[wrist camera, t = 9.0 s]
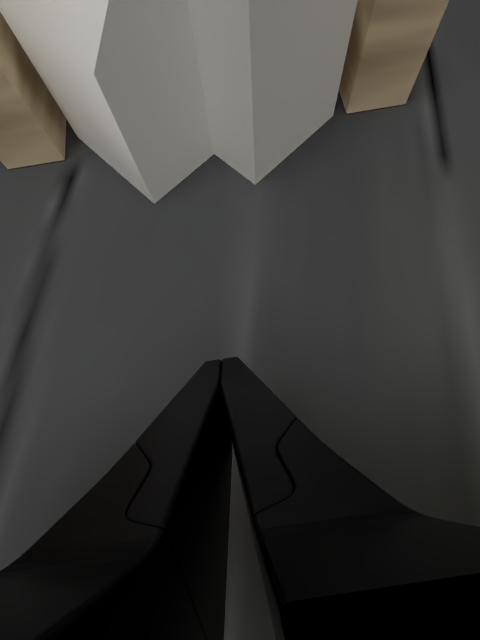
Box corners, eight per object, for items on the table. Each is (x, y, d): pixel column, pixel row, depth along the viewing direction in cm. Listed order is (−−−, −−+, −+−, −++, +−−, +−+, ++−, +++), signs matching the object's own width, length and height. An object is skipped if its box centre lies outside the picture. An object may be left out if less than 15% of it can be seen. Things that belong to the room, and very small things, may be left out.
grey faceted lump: (332, 116, 21) (416, -278, 9) (194, 239, 18) (84, -77, 7) (209, 39, 24) (159, -332, 12) (78, 138, 21) (-131, -200, 10)
